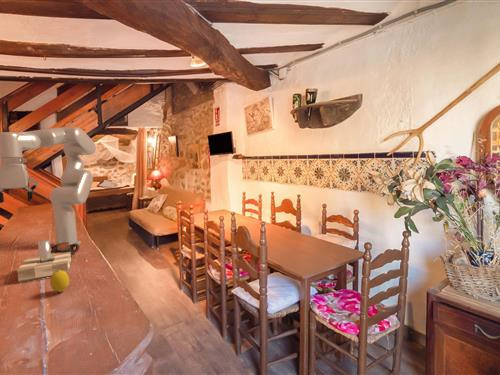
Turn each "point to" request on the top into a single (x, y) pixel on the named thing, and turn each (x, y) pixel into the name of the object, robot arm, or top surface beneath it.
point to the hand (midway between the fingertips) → (16, 201)
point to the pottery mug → (65, 248)
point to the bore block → (43, 267)
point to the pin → (44, 251)
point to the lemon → (59, 281)
